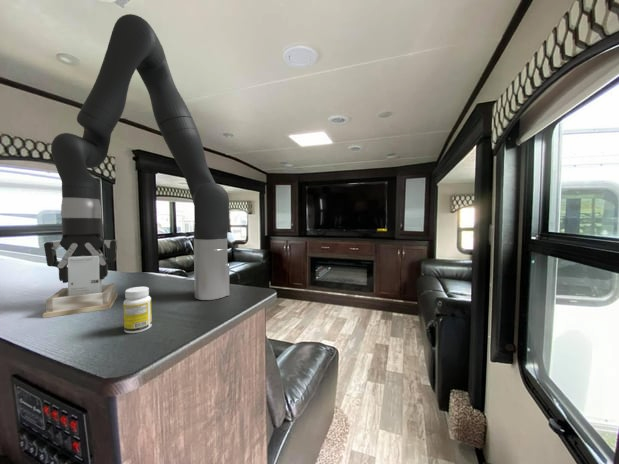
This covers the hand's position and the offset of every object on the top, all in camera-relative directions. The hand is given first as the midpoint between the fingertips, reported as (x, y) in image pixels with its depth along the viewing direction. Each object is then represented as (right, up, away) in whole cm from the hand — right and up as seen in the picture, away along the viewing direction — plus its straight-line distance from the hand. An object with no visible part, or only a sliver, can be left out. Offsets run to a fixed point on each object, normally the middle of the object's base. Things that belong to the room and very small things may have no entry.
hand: (84, 280), depth 64 cm
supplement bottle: (+23, -8, -13) cm, 27 cm away
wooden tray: (0, -7, 0) cm, 7 cm away
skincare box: (0, -6, 0) cm, 6 cm away
